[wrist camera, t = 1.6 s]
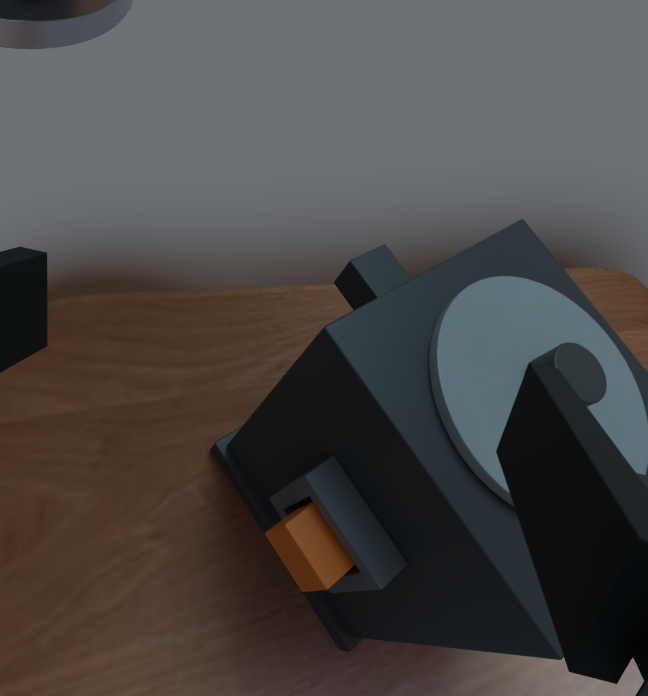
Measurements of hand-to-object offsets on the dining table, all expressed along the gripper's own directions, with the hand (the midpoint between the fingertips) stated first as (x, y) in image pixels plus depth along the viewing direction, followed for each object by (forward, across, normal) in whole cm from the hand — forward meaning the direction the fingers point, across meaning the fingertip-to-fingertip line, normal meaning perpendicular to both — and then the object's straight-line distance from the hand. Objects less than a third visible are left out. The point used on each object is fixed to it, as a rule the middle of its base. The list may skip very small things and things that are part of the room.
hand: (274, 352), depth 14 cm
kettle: (+17, +4, -15) cm, 23 cm away
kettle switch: (+6, +2, -12) cm, 13 cm away
